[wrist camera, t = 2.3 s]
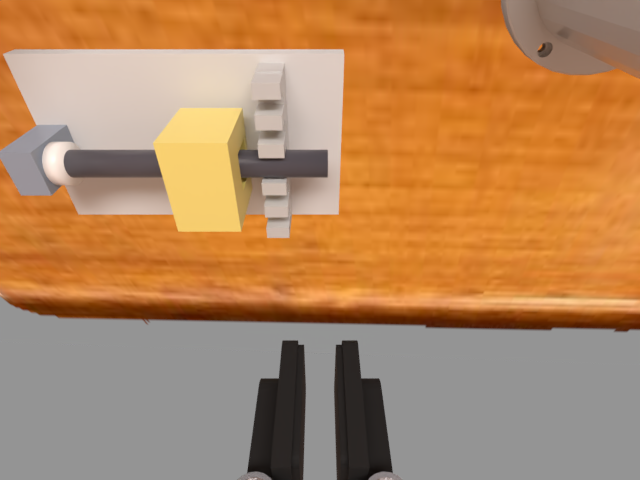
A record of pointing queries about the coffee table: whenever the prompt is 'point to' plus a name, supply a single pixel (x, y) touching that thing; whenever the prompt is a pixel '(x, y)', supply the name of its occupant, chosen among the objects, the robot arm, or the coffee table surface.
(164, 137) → the yellow sliding block
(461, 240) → the coffee table surface
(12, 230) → the coffee table surface
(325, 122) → the comb board
